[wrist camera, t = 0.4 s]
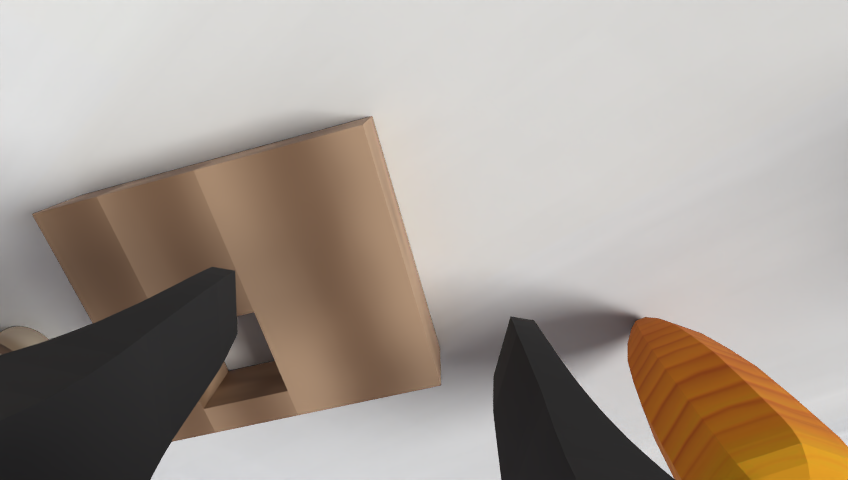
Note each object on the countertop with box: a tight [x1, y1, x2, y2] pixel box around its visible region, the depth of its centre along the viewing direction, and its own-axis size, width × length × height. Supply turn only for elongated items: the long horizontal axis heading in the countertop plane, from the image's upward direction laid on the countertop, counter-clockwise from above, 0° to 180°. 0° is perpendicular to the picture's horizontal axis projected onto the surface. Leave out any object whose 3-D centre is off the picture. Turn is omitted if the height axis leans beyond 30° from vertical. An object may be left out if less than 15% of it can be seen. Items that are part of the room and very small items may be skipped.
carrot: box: [628, 317, 848, 480], centre depth 17 cm, size 5×5×15 cm
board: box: [32, 116, 441, 441], centre depth 22 cm, size 14×12×3 cm
